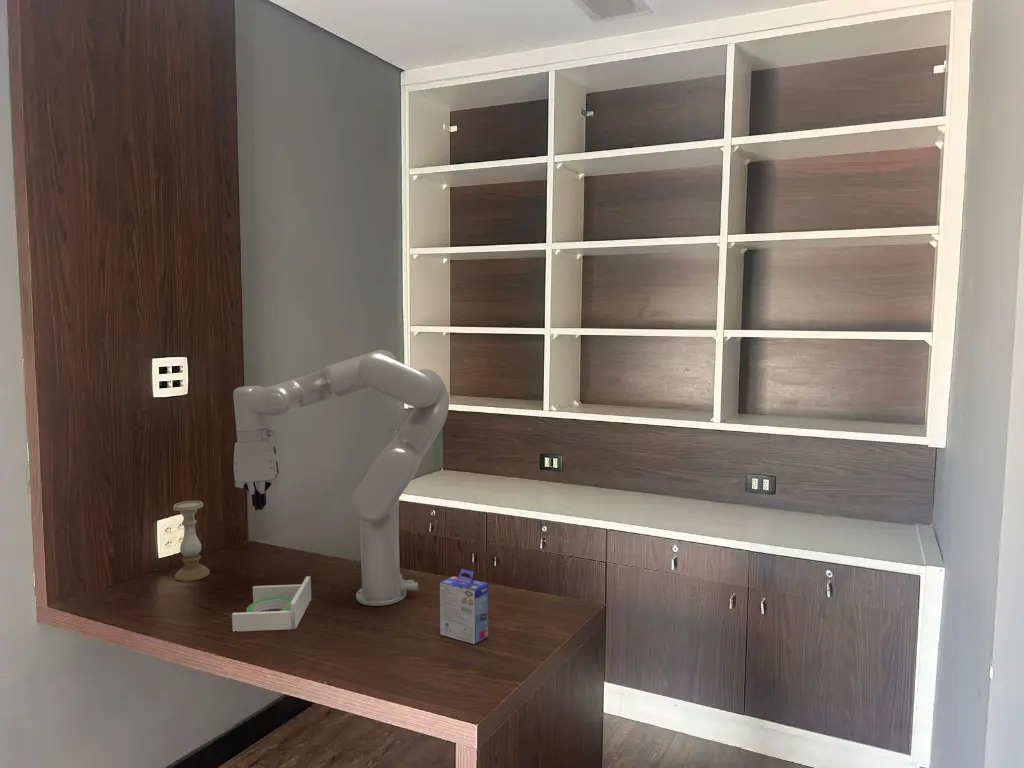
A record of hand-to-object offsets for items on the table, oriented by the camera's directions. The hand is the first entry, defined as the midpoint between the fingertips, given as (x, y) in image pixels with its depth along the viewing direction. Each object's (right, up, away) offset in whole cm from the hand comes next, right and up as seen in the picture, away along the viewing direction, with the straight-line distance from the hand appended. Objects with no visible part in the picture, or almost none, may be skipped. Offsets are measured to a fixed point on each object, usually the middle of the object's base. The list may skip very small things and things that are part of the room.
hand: (259, 508), depth 178 cm
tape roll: (+5, -25, -8) cm, 26 cm away
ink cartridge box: (+52, -25, -20) cm, 61 cm away
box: (+5, -24, -7) cm, 26 cm away
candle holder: (-25, -22, +19) cm, 39 cm away
